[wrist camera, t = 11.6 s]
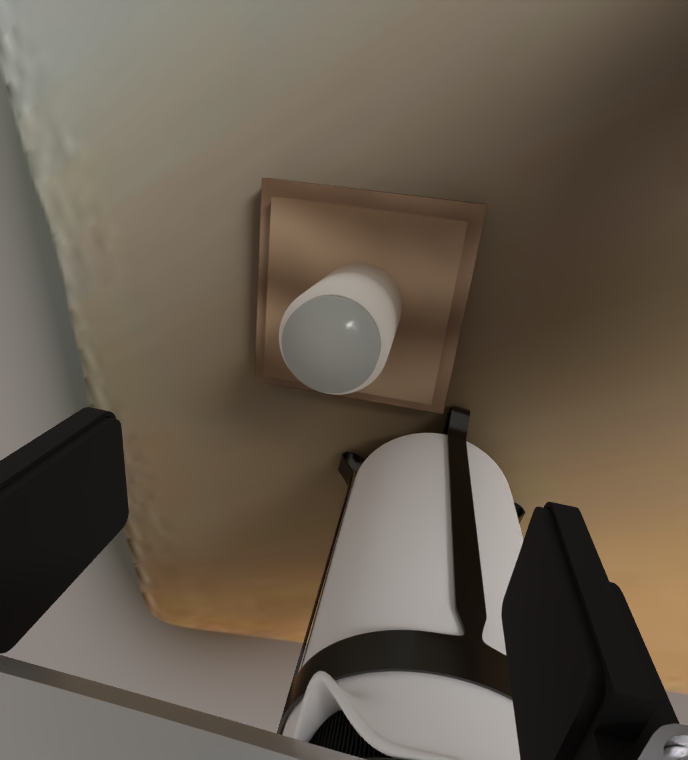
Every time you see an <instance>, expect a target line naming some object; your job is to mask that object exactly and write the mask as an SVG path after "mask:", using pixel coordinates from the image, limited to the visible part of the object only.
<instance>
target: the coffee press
mask: <svg viewBox="0 0 688 760" xmlns="http://www.w3.org/2000/svg"><path fill="white" fill-rule="evenodd" d="M469 416H470V411H469V410H466V409H463V408H459V407H456V406H453V405H451V407H450V409H449V411H448V414H447V418H446V422H445V427H444V431H443V434H439V433H416V434H410V435H405V436H402V437H399V438H396V439H393V440H391V441H389V442H387V443H385V444H383V445H382V446H380V447H379V448H377V449H376V450H375V451H374V452H372V453H371V454H370V455H369V456H368V457H367V459H366V460H365V461H364V460H363V459H362V458H361V457H359V456H358V455H357V454H355V453H352V452H345V453H343V454H342V457H341V461H340V464H339V468H338V470H339V472H340V474H341V475H342V477H343V478H344V479H345V481H346V483H347V492H346V496H345V500H344V504H343V507H342V511H341V514H340V518H339V521H338V525H337V528H336V532H335V535H334V539H333V542H332V546H331V549H330V553H329V556H328V559H327V563H326V566H325V570H324V573H323V577H322V580H321V584H320V587H319V591H318V594H317V597H316V601H315V604H314V608H313V611H312V615H311V618H310V622H309V625H308V628H307V632H306V635H305V639H304V642H303V646H302V649H301V653H300V656H299V660H298V663H297V666H296V670H295V673H294V677H293V680H292V683H291V687H290V690H289V693H288V697H287V700H286V704H285V707H284V711H283V714H282V718H281V721H280V724H279V728H278V731H277V734H280V735H283V736H287V737H290V738H294V739H297V740H300V741H304V742H307V743H311V744H314V745H318V746H321V747H324V748H328V749H331V750H335V751H338V752H342V753H345V754H348V755H352V756H355V757H359V758H362V759H366V760H520V753H519V745H518V738H517V730H516V723H515V715H514V708H513V700H512V693H511V685H510V678H509V670H508V663H507V655H506V648H505V640H504V633H503V625H502V617H501V611H502V603H503V599H504V596H505V593H506V590H507V587H508V584H509V581H510V578H511V576H512V573H513V570H514V567H515V564H516V561H517V558H518V555H519V552H520V549H521V546H522V544H523V537H522V533H521V529H520V525H519V524H520V522H521V520H522V518H523V516H524V514H525V511H524V509H523V508H522V507H521V506H520V505H518V504H516V503H514V501H513V498H512V494H511V491H510V488H509V485H508V482H507V480H506V478H505V476H504V474H503V472H502V471H501V469H500V468H499V467H498V465H497V464H496V463H495V462H494V461H493V460H492V459H491V458H490V457H489V456H488V455H487V454H486V453H485V452H483V451H482V450H481V449H479V448H478V447H476V446H474V445H473V444H471V443H469V442H467V441H466V435H467V428H468V422H469ZM352 468H353V469H354V470H355V471H356V472H357V474H356V477H355V479H354V482H353V485H352V489H351V492H350V495H349V499H348V502H347V506H346V509H345V513H344V516H343V520H342V523H341V527H340V531H339V534H338V538H337V541H336V545H335V548H334V552H333V555H332V559H331V563H330V566H329V570H328V573H327V577H326V580H325V584H324V588H323V591H322V595H321V598H320V602H319V606H318V609H317V613H316V616H315V620H314V623H313V627H312V631H311V634H310V638H309V641H308V645H307V649H306V652H305V656H304V659H303V663H302V666H301V670H300V671H299V672H298V670H299V667H300V663H301V660H302V657H303V653H304V649H305V646H306V643H307V639H308V635H309V632H310V628H311V625H312V621H313V618H314V614H315V611H316V607H317V604H318V600H319V597H320V593H321V590H322V586H323V582H324V579H325V575H326V572H327V568H328V565H329V561H330V558H331V554H332V551H333V547H334V544H335V540H336V536H337V533H338V529H339V526H340V522H341V519H342V515H343V512H344V508H345V504H346V501H347V497H348V494H349V490H350V486H351V482H352V478H353V471H352Z"/></svg>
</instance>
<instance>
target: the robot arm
mask: <svg viewBox="0 0 688 760" xmlns="http://www.w3.org/2000/svg"><path fill="white" fill-rule="evenodd" d="M128 514H129V510H128V498H127V487H126V475H125V463H124V452H123V440H122V429H121V423H120V421H119V420H117V419H116V417H115V415H114V414H113V413H112V412H110V411H105V410H100V409H95V408H90V407H86V408H83V409H81V410H80V411H79V412H77V413H75V414H74V415H72V416H70V417H69V418H67V419H66V420H64V421H62V422H61V423H59V424H58V425H56V426H55V427H53V428H51V429H50V430H48V431H47V432H45V433H44V434H42V435H41V436H39V437H37V438H36V439H34V440H32V441H31V442H30V443H28V444H27V445H25V446H23V447H21V448H20V449H18V450H17V451H15V452H14V453H12V454H10V455H9V456H7V457H6V458H4V459H3V460H1V461H0V653H6V652H7V651H9V650H10V649H11V648H12V647H13V646H15V645H16V643H17V642H18V641H19V640H20V639H21V638H22V637H23V636H24V635H25V634H26V633H27V631H28V630H29V629H30V628H31V627H32V626H33V625H34V624H35V623H36V622H37V621H38V619H39V618H40V617H41V616H42V615H43V614H44V613H45V612H46V611H47V610H48V609H49V608H50V606H51V605H52V604H53V603H54V602H55V601H56V600H57V599H58V598H59V597H60V596H61V595H62V593H63V592H64V591H65V590H66V589H67V588H68V587H69V586H70V585H71V584H72V583H73V582H74V580H75V579H76V578H77V577H78V576H79V575H80V574H81V573H82V572H83V570H84V569H85V568H86V567H87V566H88V565H89V564H90V563H91V562H92V561H93V560H94V559H95V558H96V556H97V555H98V554H99V553H100V552H101V551H102V550H103V549H104V548H105V547H106V546H107V545H108V543H109V542H110V541H111V540H112V539H113V538H114V537H115V536H116V535H117V534H118V533H119V531H120V530H121V529H122V528H123V527H124V525H125V524H126V521H127V519H128ZM501 617H502V625H503V633H504V640H505V648H506V655H507V663H508V670H509V678H510V685H511V693H512V700H513V708H514V715H515V723H516V730H517V738H518V745H519V753H520V760H688V726H687V725H681V724H679V721H678V719H677V717H676V715H675V712H674V710H673V708H672V705H671V703H670V701H669V699H668V696H667V694H666V692H665V689H664V687H663V685H662V682H661V680H660V678H659V675H658V673H657V671H656V669H655V666H654V664H653V662H652V659H651V657H650V655H649V652H648V650H647V648H646V646H645V643H644V641H643V639H642V636H641V634H640V632H639V629H638V627H637V625H636V623H635V620H634V618H633V616H632V613H631V611H630V609H629V606H628V604H627V602H626V600H625V597H624V595H623V593H622V591H621V590H620V588H619V586H617V585H616V584H615V583H612V582H609V580H608V577H607V575H606V573H605V570H604V568H603V565H602V563H601V560H600V558H599V556H598V553H597V551H596V548H595V546H594V544H593V541H592V539H591V536H590V534H589V531H588V529H587V527H586V524H585V522H584V519H583V517H582V515H581V512H580V510H579V509H578V508H576V507H572V506H567V505H563V504H558V503H553V502H547V503H546V504H545V506H544V508H542V507H536V508H535V510H534V512H533V515H532V517H531V520H530V523H529V526H528V529H527V532H526V535H525V538H524V541H523V544H522V546H521V549H520V552H519V555H518V558H517V561H516V564H515V567H514V570H513V573H512V576H511V578H510V581H509V584H508V587H507V590H506V593H505V596H504V599H503V603H502V611H501ZM0 760H366V759H362V758H359V757H355V756H352V755H348V754H345V753H342V752H338V751H335V750H331V749H328V748H324V747H321V746H318V745H314V744H311V743H307V742H304V741H300V740H297V739H294V738H290V737H287V736H283V735H280V734H277V733H273V732H269V731H266V730H263V729H259V728H255V727H252V726H249V725H245V724H242V723H238V722H235V721H232V720H228V719H224V718H221V717H217V716H214V715H211V714H207V713H203V712H200V711H197V710H193V709H190V708H186V707H182V706H179V705H176V704H172V703H169V702H165V701H162V700H158V699H155V698H151V697H148V696H144V695H140V694H137V693H133V692H130V691H126V690H123V689H120V688H116V687H113V686H109V685H105V684H102V683H98V682H95V681H91V680H88V679H84V678H80V677H77V676H74V675H70V674H66V673H62V672H59V671H56V670H52V669H48V668H45V667H41V666H38V665H34V664H30V663H27V662H23V661H20V660H16V659H13V658H9V657H5V656H2V655H0Z"/></svg>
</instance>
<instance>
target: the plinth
mask: <svg viewBox="0 0 688 760" xmlns="http://www.w3.org/2000/svg"><path fill="white" fill-rule="evenodd" d="M486 210H487V205H485V204H480V203H471V202H463V201H455V200H446V199H438V198H430V197H421V196H413V195H405V194H396V193H388V192H380V191H371V190H363V189H355V188H347V187H338V186H330V185H322V184H313V183H305V182H297V181H288V180H280V179H271V178H262V188H261V216H260V243H259V270H258V298H257V325H256V353H255V380H254V381H258V382H263V383H269V384H275V385H281V386H286V387H292V388H298V389H303V390H309V391H315V392H319V391H317V390H314V389H312V388H310V387H308V386H306V385H305V384H303V383H302V382H301V381H300V380H298V379H297V378H296V377H295V375H294V374H293V373H292V372H291V371H290V369H289V368H288V366H287V365H286V363H285V361H284V359H283V356H282V354H281V350H280V345H279V329H280V324H281V320H282V318H283V316H284V313H285V312H286V310H287V308H288V307H289V306H290V304H291V303H292V302H293V301H294V300H295V299H296V298H297V297H299V296H300V295H301V294H303V293H304V292H305V291H307V290H308V289H309V288H311V287H312V286H314V285H315V284H316V283H318V282H319V281H320V280H322V279H323V278H324V277H326V276H327V275H328V274H330V273H331V272H332V271H334V270H335V269H337V268H339V267H341V266H343V265H346V264H350V263H367V264H371V265H374V266H376V267H378V268H380V269H382V270H383V271H385V272H386V273H387V274H388V275H389V276H390V277H391V278H392V279H393V280H394V282H395V283H396V285H397V287H398V289H399V291H400V295H401V299H402V314H401V318H400V322H399V325H398V328H397V331H396V334H395V337H394V340H393V343H392V346H391V349H390V352H389V355H388V358H387V361H386V363H385V366H384V368H383V369H382V371H381V373H380V374H379V375H378V377H377V378H376V379H375V380H374V381H373V382H372V383H370V384H369V385H368V386H366V387H364V388H363V389H361V390H358V391H356V392H353V393H349V394H341V395H338V396H344V397H349V398H355V399H361V400H367V401H372V402H378V403H384V404H389V405H395V406H401V407H407V408H412V409H418V410H424V411H430V412H435V413H441V414H443V412H444V407H445V402H446V398H447V393H448V388H449V384H450V379H451V374H452V370H453V365H454V360H455V355H456V351H457V346H458V341H459V337H460V332H461V327H462V323H463V318H464V313H465V308H466V304H467V299H468V294H469V290H470V285H471V280H472V276H473V271H474V266H475V261H476V257H477V252H478V247H479V243H480V238H481V233H482V229H483V224H484V219H485V214H486ZM321 393H323V392H321ZM326 394H327V393H326ZM332 395H335V394H332Z"/></svg>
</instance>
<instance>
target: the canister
mask: <svg viewBox="0 0 688 760" xmlns="http://www.w3.org/2000/svg"><path fill="white" fill-rule="evenodd" d="M401 314H402V299H401V295H400V291H399V289H398V287H397V285H396V283H395V282H394V280H393V279H392V278H391V277H390V276H389V275H388V274H387V273H386V272H385V271H383V270H382V269H380V268H378V267H376V266H374V265H371V264H367V263H350V264H346V265H343V266H341V267H339V268H337V269H335V270H334V271H332V272H331V273H330V274H328V275H327V276H326V277H324V278H323V279H322V280H320V281H319V282H318V283H316V284H315V285H314V286H312V287H311V288H309V289H308V290H307V291H305V292H304V293H303V294H301V295H300V296H299V297H297V298H296V299H295V300H294V301H293V302H292V303H291V304H290V306H289V307H288V308H287V310H286V312H285V313H284V316H283V318H282V320H281V324H280V329H279V345H280V350H281V354H282V356H283V359H284V361H285V363H286V365H287V366H288V368H289V369H290V371H291V372H292V373H293V374H294V375H295V377H296V378H297V379H298V380H300V381H301V382H302V383H303V384H305V385H306V386H308V387H310V388H312V389H314V390H317V391H319V392H323V393H327V394H335V395H341V394H349V393H353V392H356V391H358V390H361V389H363V388H364V387H366V386H368V385H369V384H370V383H372V382H373V381H374V380H375V379H376V378H377V377H378V375H379V374H380V373H381V371H382V369H383V368H384V366H385V363H386V361H387V358H388V355H389V352H390V349H391V346H392V343H393V340H394V337H395V334H396V331H397V328H398V325H399V322H400V318H401Z"/></svg>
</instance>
